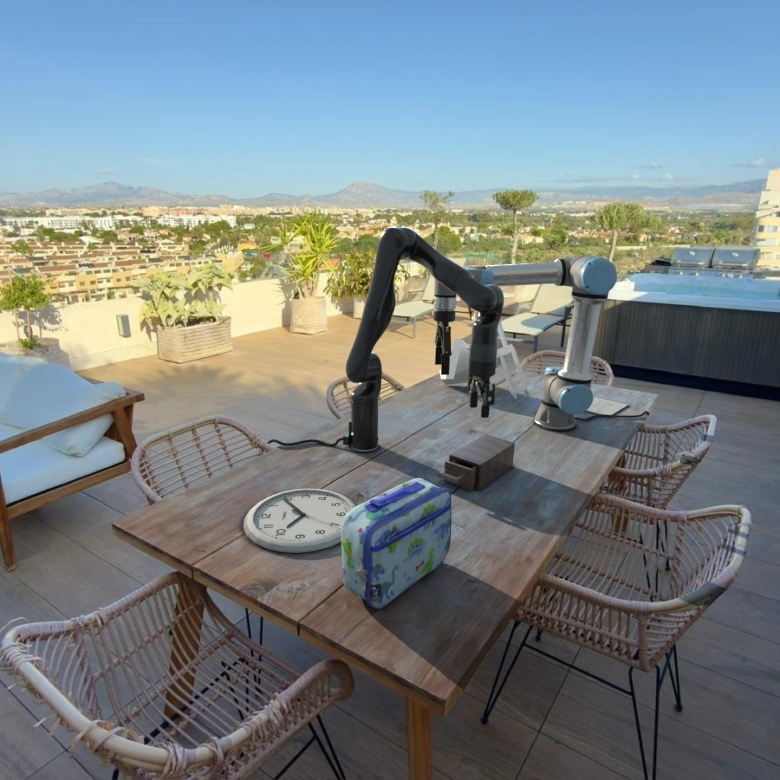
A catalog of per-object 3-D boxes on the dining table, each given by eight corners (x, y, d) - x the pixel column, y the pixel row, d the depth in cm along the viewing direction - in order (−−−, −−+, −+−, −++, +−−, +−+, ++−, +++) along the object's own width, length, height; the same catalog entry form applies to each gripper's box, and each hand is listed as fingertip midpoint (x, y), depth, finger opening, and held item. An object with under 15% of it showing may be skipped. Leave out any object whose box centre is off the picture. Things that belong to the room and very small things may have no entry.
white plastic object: (461, 429, 252) (437, 405, 227) (444, 352, 274) (420, 323, 250) (535, 404, 240) (518, 377, 215) (510, 326, 262) (492, 293, 237)
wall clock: (362, 544, 122) (232, 548, 120) (362, 550, 123) (232, 555, 120) (359, 484, 151) (253, 486, 148) (359, 489, 151) (253, 492, 149)
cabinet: (478, 490, 152) (480, 464, 150) (447, 479, 159) (449, 454, 156) (512, 466, 168) (515, 442, 166) (483, 456, 175) (485, 434, 172)
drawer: (459, 498, 146) (461, 478, 144) (432, 487, 151) (433, 468, 150) (504, 467, 165) (506, 449, 163) (478, 458, 171) (480, 441, 169)
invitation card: (608, 416, 214) (573, 407, 224) (608, 416, 214) (573, 408, 224) (628, 404, 229) (594, 396, 238) (628, 405, 229) (594, 397, 238)
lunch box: (370, 622, 101) (370, 527, 94) (335, 595, 108) (333, 505, 102) (455, 565, 118) (460, 481, 112) (420, 544, 125) (423, 465, 119)
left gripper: (461, 352, 152) (458, 405, 156) (480, 364, 138) (476, 421, 143) (485, 351, 153) (481, 403, 158) (506, 363, 140) (501, 420, 145)
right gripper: (428, 304, 190) (426, 360, 196) (439, 315, 166) (436, 379, 172) (449, 304, 190) (446, 360, 197) (462, 315, 167) (459, 379, 173)
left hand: (478, 412), depth 151 cm, fingers open, 8 cm apart
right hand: (441, 369), depth 185 cm, fingers open, 13 cm apart
